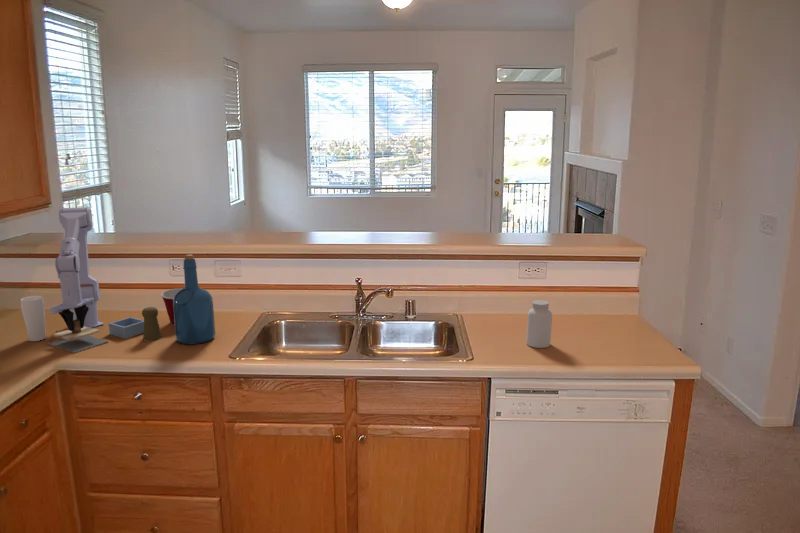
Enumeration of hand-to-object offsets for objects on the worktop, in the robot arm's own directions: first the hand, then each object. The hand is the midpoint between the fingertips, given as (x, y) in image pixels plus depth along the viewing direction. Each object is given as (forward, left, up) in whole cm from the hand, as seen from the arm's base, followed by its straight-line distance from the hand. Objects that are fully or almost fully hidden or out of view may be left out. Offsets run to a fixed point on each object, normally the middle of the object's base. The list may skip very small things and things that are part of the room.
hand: (76, 328), depth 207 cm
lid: (0, 0, -2) cm, 2 cm away
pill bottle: (+135, +81, -6) cm, 158 cm away
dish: (+5, +16, -5) cm, 18 cm away
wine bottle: (+31, +24, -6) cm, 40 cm away
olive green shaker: (+17, +17, -6) cm, 25 cm away
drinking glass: (-16, -5, -5) cm, 18 cm away
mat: (0, 0, -5) cm, 5 cm away
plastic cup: (+11, +33, -6) cm, 35 cm away
